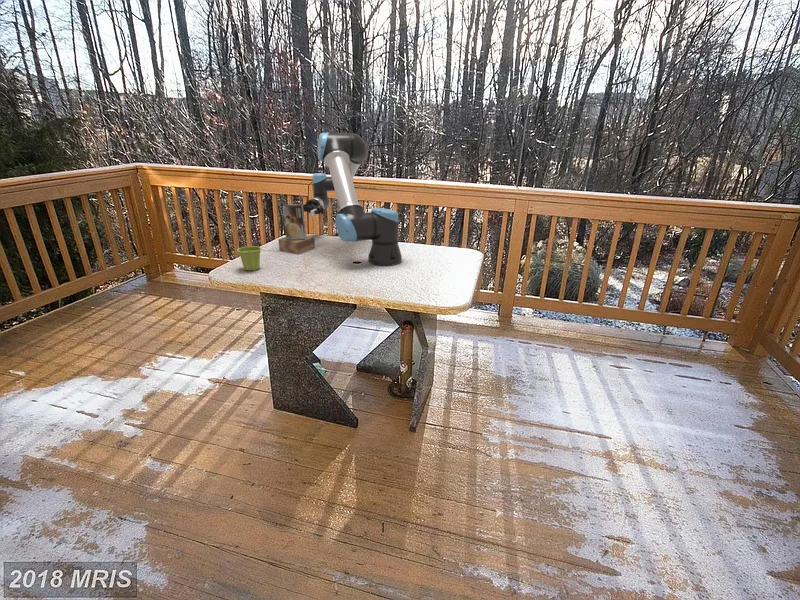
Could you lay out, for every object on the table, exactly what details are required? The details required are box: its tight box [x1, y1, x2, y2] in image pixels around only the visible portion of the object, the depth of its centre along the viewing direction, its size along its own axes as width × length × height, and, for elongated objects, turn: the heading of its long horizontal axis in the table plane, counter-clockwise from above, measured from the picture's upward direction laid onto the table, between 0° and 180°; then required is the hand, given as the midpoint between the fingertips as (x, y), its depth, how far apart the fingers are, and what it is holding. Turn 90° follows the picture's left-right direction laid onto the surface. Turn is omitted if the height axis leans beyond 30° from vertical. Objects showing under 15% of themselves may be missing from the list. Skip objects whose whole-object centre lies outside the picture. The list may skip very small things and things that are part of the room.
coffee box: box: [282, 203, 307, 240], centre depth 188 cm, size 9×6×16 cm
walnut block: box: [278, 235, 316, 255], centre depth 192 cm, size 12×12×6 cm
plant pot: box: [236, 245, 262, 272], centre depth 163 cm, size 9×9×9 cm
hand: (297, 213), depth 191 cm, fingers open, 13 cm apart
